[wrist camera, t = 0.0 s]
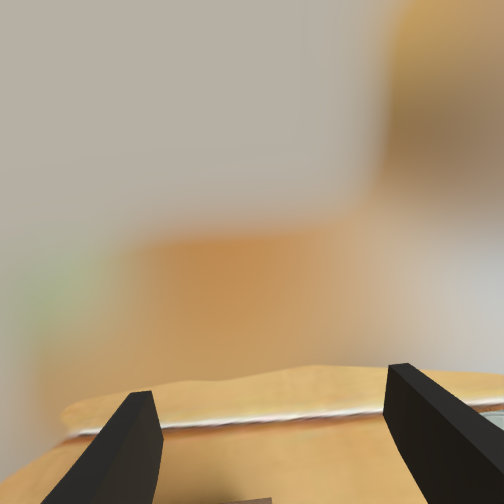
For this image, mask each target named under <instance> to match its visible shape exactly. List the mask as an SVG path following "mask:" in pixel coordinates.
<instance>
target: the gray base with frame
mask: <svg viewBox="0 0 504 504" xmlns="http://www.w3.org/2000/svg"><path fill="white" fill-rule="evenodd" d="M222 504H272V498H271V497H270V498H262V499H254V500H246V501H238V502H230V503H222Z"/></svg>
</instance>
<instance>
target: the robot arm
mask: <svg viewBox="0 0 504 504" xmlns="http://www.w3.org/2000/svg"><path fill="white" fill-rule="evenodd" d="M383 416H384V419H385V421H386V423H387V426H388V428H389V430H390V433H391V435H392V437H393V440H394V442H395V444H396V446H397V448H398V451H399V453H400V454H401V456H402V458H403V460H404V462H405V463H406V465H407V467H408V469H409V471H410V472H411V474H412V476H413V478H414V480H415V481H416V483H417V485H418V487H419V488H420V490H421V492H422V494H423V495H424V497H425V499H426V501H427V502H428V504H504V430H502V429H501V428H499V427H498V426H496V425H495V424H494V423H492V422H491V421H489V420H488V419H486V418H485V417H483V416H482V415H481V414H479V413H478V412H476V411H475V410H473V409H472V408H471V407H469V406H468V405H466V404H465V403H464V402H462V401H461V400H459V399H458V398H457V397H455V396H454V395H452V394H451V393H450V392H448V391H447V390H445V389H444V388H443V387H441V386H440V385H439V384H437V383H436V382H434V381H433V380H432V379H430V378H429V377H427V376H426V375H425V374H423V373H422V372H421V371H419V370H418V369H416V368H415V367H413V366H412V365H410V364H409V363H403V364H394V365H389V367H388V375H387V383H386V392H385V400H384V409H383ZM163 441H164V439H163V435H162V431H161V427H160V423H159V419H158V415H157V411H156V407H155V403H154V399H153V395H152V391H142V392H133V393H130V394H129V395H128V396H127V398H126V399H125V400H124V401H123V403H122V404H121V405H120V406H119V408H118V409H117V410H116V412H115V413H114V414H113V416H112V417H111V418H110V419H109V421H108V422H107V423H106V425H105V426H104V427H103V428H102V430H101V431H100V432H99V434H98V435H97V436H96V437H95V439H94V440H93V441H92V443H91V444H90V445H89V446H88V447H87V449H86V450H85V451H84V452H83V454H82V455H81V456H80V457H79V459H78V460H77V461H76V462H75V464H74V465H73V466H72V467H71V468H70V470H69V471H68V472H67V473H66V475H65V476H64V477H63V478H62V479H61V480H60V482H59V483H58V484H57V485H56V486H55V487H54V489H53V490H52V491H51V492H50V493H49V494H48V496H47V497H46V498H45V499H44V500H43V501H42V503H41V504H152V501H153V497H154V493H155V489H156V485H157V480H158V474H159V468H160V462H161V455H162V448H163Z"/></svg>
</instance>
